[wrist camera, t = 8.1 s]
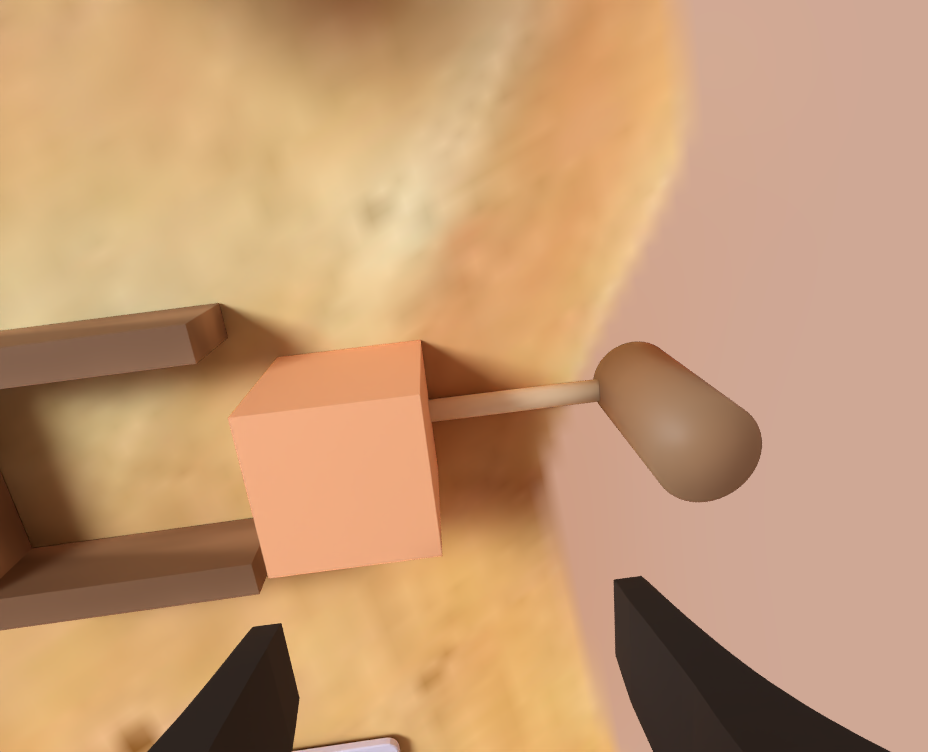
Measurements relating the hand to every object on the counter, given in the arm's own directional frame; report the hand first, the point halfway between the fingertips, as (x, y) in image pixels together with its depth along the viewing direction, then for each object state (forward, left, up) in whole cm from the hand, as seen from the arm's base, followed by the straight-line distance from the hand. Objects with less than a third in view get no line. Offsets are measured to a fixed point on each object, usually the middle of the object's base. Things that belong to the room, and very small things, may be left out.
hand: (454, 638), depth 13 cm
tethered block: (+2, -2, -10) cm, 10 cm away
